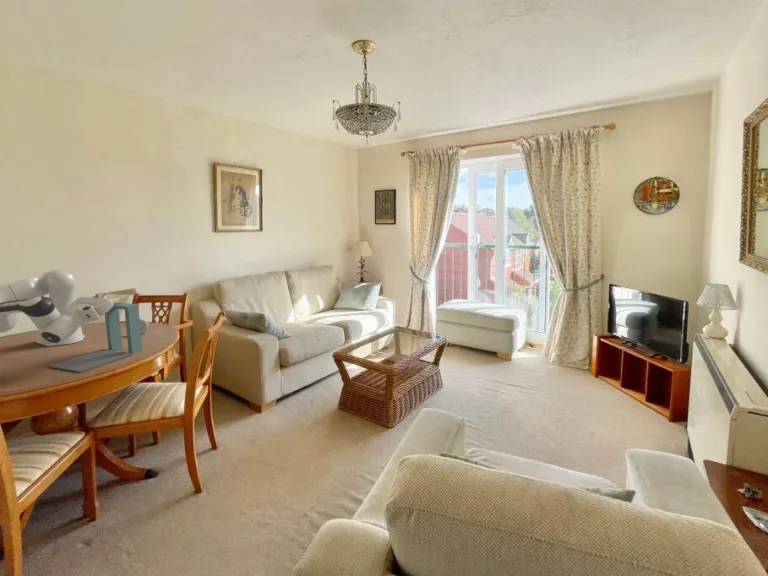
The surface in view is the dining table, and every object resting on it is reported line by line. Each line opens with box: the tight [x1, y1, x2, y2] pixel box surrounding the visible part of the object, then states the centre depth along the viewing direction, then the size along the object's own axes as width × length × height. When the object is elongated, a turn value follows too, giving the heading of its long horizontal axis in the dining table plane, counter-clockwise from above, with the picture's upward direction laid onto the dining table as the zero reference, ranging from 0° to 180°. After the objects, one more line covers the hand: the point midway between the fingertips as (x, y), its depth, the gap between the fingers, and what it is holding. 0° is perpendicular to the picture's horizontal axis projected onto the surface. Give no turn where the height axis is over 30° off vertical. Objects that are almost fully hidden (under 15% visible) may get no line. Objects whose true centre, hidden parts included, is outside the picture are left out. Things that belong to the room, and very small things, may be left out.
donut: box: [139, 317, 149, 335], centre depth 229 cm, size 10×4×10 cm, turn 129°
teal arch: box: [104, 301, 143, 354], centre depth 198 cm, size 16×6×24 cm, turn 72°
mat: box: [48, 349, 134, 374], centre depth 185 cm, size 20×25×1 cm
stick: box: [95, 287, 137, 300], centre depth 194 cm, size 2×19×3 cm, turn 162°
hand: (105, 294), depth 188 cm, fingers closed on stick, 2 cm apart
